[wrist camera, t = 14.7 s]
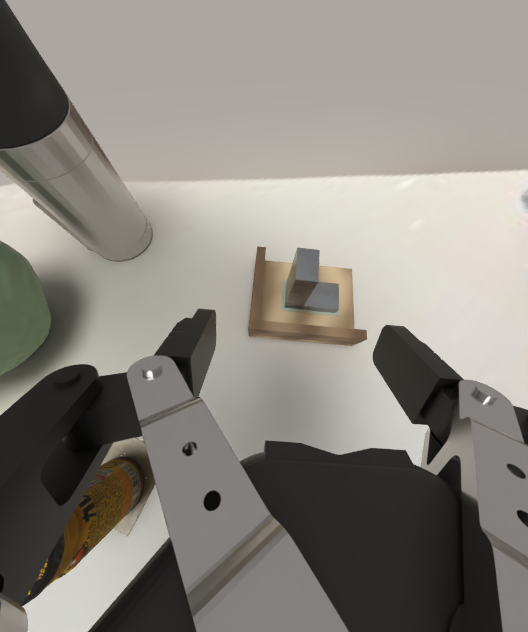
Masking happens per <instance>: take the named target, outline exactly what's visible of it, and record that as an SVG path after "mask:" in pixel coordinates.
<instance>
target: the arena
mask: <svg viewBox="0 0 528 632" xmlns="http://www.w3.org/2000/svg"><path fill="white" fill-rule="evenodd" d="M291 267H292V263H284V262H274V261H265V262H264V273H263V284H262V294H261V305H260V316H259V320H261V321H272V322H283V323H294V324H304V325H315V326H326V327H337V328H348V329H354V309H353V284H352V269H346V268H336V267H325V266H319V282H327V283H336V284H339V310H338V311H337V312H336V313H330V312H321V311H312V310H303V309H294V308H284V307H285V294H286V282H287V279H288V276H289V273H290V270H291ZM249 336H252V337H263V338H274V339H285V340H296V341H307V342H318V343H329V344H340V345H351V346H352V345H355V344H345V343H334V342H323V341H313V340H302V339H291V338H280V337H269V336H258V335H249Z"/></svg>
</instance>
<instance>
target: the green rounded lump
mask: <svg viewBox="0 0 528 632" xmlns="http://www.w3.org/2000/svg"><path fill="white" fill-rule="evenodd" d="M51 320H52V318H51V313H50V311H49V307H48V304H47V300H46V296H45V293H44V291H43V288H42V285H41V282H40V280H39V278H38V276H37V275H36V273H35V272H34V270H33V268H32V266H31V265H30V263H29V262H28V260H27V259H26V258H25V257H24V256H23V255H21V254H20V253H19V252H17V251H16V250H15V249H13V248H12V247H10V246H9V245H7V244H5V243H3V242H1V241H0V376H1V375H3V374H4V373H6V372H8V371H10V370H12V369H13V368H15V367H17V366H18V365H20V364H21V363H22V362H24V361H25V360H26V359H27V358H29V357H30V356H31V355H32V354H33V353H34V352H35V351H36V349H37V348H38V347H40V346H41V345H42V344H43V342H44V340H45V338H46V337H47V336H48V334H49V330H50V326H51Z"/></svg>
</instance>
